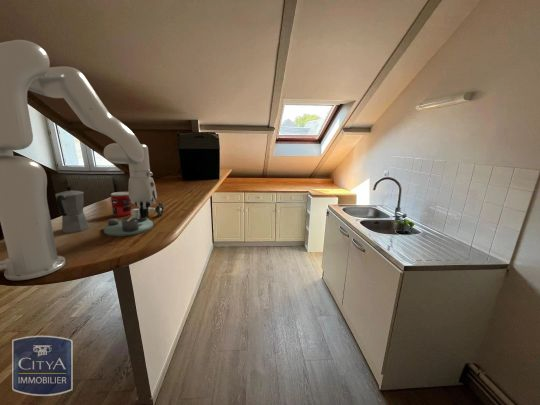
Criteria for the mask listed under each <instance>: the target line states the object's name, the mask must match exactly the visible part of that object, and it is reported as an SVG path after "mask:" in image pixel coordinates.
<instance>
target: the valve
mask: <svg viewBox="0 0 540 405" xmlns="http://www.w3.org/2000/svg"><path fill="white" fill-rule="evenodd" d="M136 209H138V206H137V205H136ZM164 210H165V207H164V203H160V202H159V203H158V204H157V205H156V207H149V208H148V211H149V212H156V213H157V216H159V217H162V216H163V214H164V212H165V211H164ZM139 215H140V209H139Z"/></svg>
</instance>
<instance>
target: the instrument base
mask: <svg viewBox="0 0 540 405" xmlns="http://www.w3.org/2000/svg"><path fill="white" fill-rule="evenodd" d="M139 216H140V215H139ZM138 227H139V229H138V230H135V231H131V232H124V231H123V230H122V222H121V220H119V219H118V218H117V217H116V218H110V219H109V218H108V219H107V225H105V226H104V227H103V233H104V234H105V235H106V234H107V235H106V236H110V237H128V236H135V235H139V234H140V235H141V234H143V233H146V232H148V231H150V230H151V229H153V228H154V222H153V220H150V219H148V217H146V218H141V216H140V219H138Z"/></svg>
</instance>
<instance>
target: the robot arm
mask: <svg viewBox="0 0 540 405" xmlns="http://www.w3.org/2000/svg"><path fill="white" fill-rule="evenodd" d="M50 65H51V64H50V57H49V54H48V53H47V52H46V50H45V49H43V47H42V46H40V44H39V45H38V44H37V43H35V42H33V41H30V40H26V39H14V40H8V41H3V42H0V226H1V230H2V234H3V239H4V242H5V246H6V249H7V250H6V251H7V255H8V258H5V259H4V260H0V271H3V270H4V274H3V275H4V277H5V278H6V280H10V281H25V280H32V279H35V278H40V277H44V276H47V275H49V274H52V273H55V272H56V271H58V270H60V269H62V268H63V267H64V266H65V265H66V263H67V262H66V258H65V257H64V256H62V255H58V250H57V245H56V241H55V235H54V231H53V224H52V221H51V220H52V219H51V215H50V209H49V204H48V197H47V196H48V195H47V194H48V193H47V192H48V191H47V187H48V177H47V173H46V171H45V168H44V167H43V166H42V165H41V164H40V163H38V162H37V161H36V160H34V159H32V158H28V157H24V156H21V155H20V156H19V155H14V151H21V150H25V149H28V147H30V146H31V145H32V143H33V140H34V134H33V127H32V124H31V123H32V122H31V117H30V110H29V106H28V91H31V92H33V93H36V94H39V95H42V96H44V97H49V98H53V99H64V101H65V102H66V103H67V104H68V105H69V107H70V108H71V110H72V111H73V112H74V113H75V114H76V117H78V118H79V120H80V121H81V122H82V124H83V125H85V126H86V127H88V128H90V129H91V130H94V131H96V132H99V133H101V134H103V135H105V136H106V137H108V138H110V139H111V140H113V142H115V143H113V142H112V143H110V144H108V145H106V146H105V147H104V148H103V156H104V158H105V159H106V160H107V161H109V162H111V163H114V164H124V165H128V169H129V178H128V192H129V198H130V201H131V204H133V205H136V207H137V206H138V209H140V216H141V218H146V217H147V218H148V217H149V216H150V214H149V211H148V208H149V207H150V206H153V205H155V204H157V202H156V200H158V194H157V189H156V184H155V180H154V178H153V177H152V176H154V174H153V172H152V171H151V166H150V155H149V147H148V146H147V145H146V144H144V143H140V141H139V139H138V137H137V136H136V135H135V133H133V131H132V130H131V129H130V128H129V127H128V126H127V125H126V124H124V123H123V122H122V121H121V120H119V119H118V118H116V117H115V116H113V115H112V114H111V113H110V112H109V110H108V109H107V107H106V106H105V104H104V103H103V102H102V99H100V97H99V96H98V94H97V92H96V91H95V90H94V87H93V86H92V85H91V84H90V82H89V81H88V79H87V77H86V76H85V74H84V73H83V72H81V71H80V70H79V69H78V68H75V67H72V66H66V65H65V66H50ZM150 208H151V207H150Z"/></svg>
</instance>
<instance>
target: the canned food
mask: <svg viewBox="0 0 540 405" xmlns="http://www.w3.org/2000/svg"><path fill="white" fill-rule="evenodd" d="M110 201H111V206H112V213H113V217H116V218H118V217H119V218H123V216H124V217H127V216H128V215H129V216H131V210H132V203H131V200H130V198H129V191H117V192H112V193H110ZM129 216H128V217H129Z"/></svg>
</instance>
